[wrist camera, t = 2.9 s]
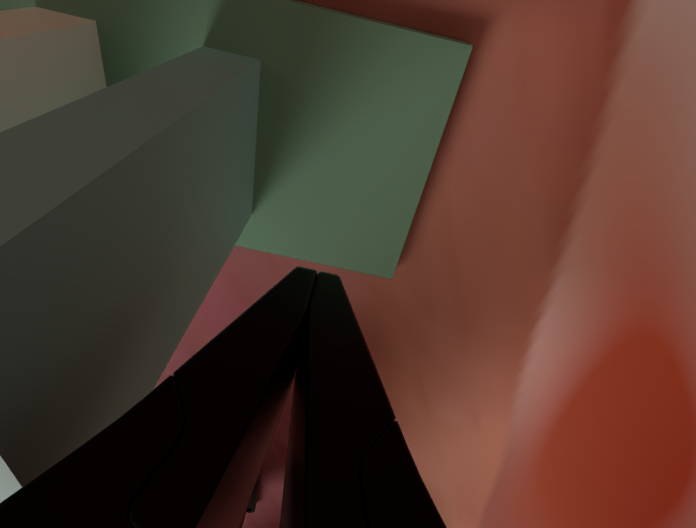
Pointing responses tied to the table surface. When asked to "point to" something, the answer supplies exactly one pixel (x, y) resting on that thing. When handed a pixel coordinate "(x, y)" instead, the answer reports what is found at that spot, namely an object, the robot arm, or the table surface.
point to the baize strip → (309, 113)
